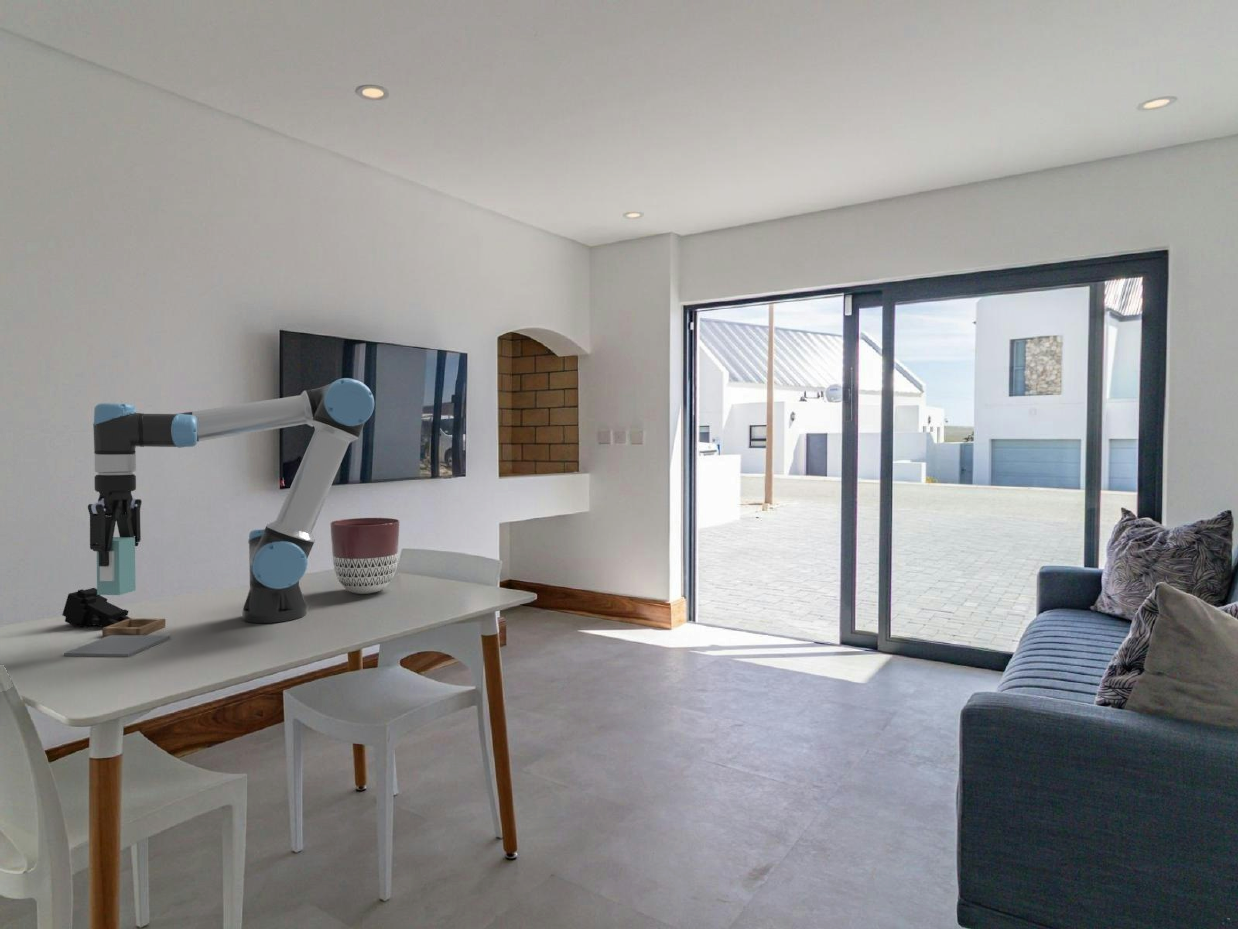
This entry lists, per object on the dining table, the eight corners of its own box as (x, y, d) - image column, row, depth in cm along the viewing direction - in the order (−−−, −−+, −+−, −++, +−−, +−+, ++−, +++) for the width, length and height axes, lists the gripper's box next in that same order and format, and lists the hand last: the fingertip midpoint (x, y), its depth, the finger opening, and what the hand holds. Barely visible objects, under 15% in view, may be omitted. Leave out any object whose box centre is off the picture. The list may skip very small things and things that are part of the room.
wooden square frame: (165, 626, 177) (165, 618, 177) (140, 637, 168) (140, 628, 168) (129, 626, 178) (129, 618, 178) (102, 636, 169) (102, 628, 169)
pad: (170, 638, 168) (170, 635, 168) (128, 656, 154) (128, 654, 154) (111, 637, 168) (111, 634, 168) (63, 655, 154) (63, 653, 154)
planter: (317, 598, 209) (316, 524, 208) (353, 584, 228) (352, 517, 227) (380, 601, 206) (379, 526, 205) (410, 587, 225) (410, 518, 224)
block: (135, 590, 163) (134, 537, 162) (119, 595, 158) (119, 540, 157) (113, 589, 163) (113, 537, 162) (97, 594, 158) (96, 540, 157)
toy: (115, 615, 172) (65, 590, 175) (106, 645, 173) (56, 620, 175) (147, 605, 181) (99, 582, 184) (138, 635, 182) (90, 611, 184)
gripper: (127, 471, 168) (128, 570, 169) (66, 475, 150) (68, 586, 151) (159, 471, 168) (160, 570, 169) (101, 476, 150) (103, 587, 151)
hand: (116, 577), depth 160 cm, fingers closed on block, 5 cm apart
